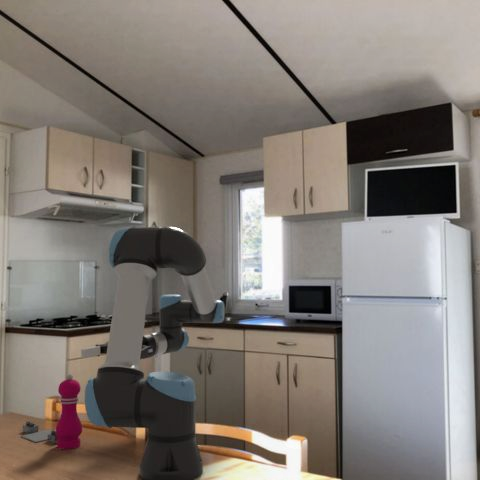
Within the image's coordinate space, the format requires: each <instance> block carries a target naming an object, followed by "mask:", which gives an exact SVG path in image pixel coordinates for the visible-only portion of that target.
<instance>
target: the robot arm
mask: <svg viewBox="0 0 480 480" xmlns="http://www.w3.org/2000/svg"><path fill="white" fill-rule="evenodd" d="M108 253H109V255H108V261H109V264H110V266H111V267H112V268H113V272H114V274H115V275H116V276H117V277H118V279H117V284H116V289H115V290H116V291H115V296H114V297H115V298H114V304H113V308H112V309H113V310H112V317H111V323H110V330H109V335H108V342H107V343H104V344H100V343H99V344H95V346H91V347H87V348H81V351H80V352H81V353H80V356H81V359H87V358H92V357H100V356H101V355H104V354H105V360H104V362H103V364H102V365H100V366H99V367H98V368H97V373H96V376H93V377H90V378H89V379H88V381H87V383H86V385H85V388H84V389H85V390H84V407H85V411H86V412H85V413H86V415H87V416H86V417H87V418H88V420H89V421H90V423H91V424H92V425H94V426H95V427H104V428H108V429H112V428H129V429H130V428H132V429H133V428H135V429H136V428H137V429H138V428H139V429H146V432H147V433H146V437H147V438H146V443H145V447H144V451H143V455H142V458H141V461H140V463H139V477H140V478H141V479H142V480H194V479H197V478H198V477H200V476H201V475H202V474H203V473H204V471H203V470H204V463H203V458H202V457H201V453H200V452H201V451H200V449H199V446H198V443H197V438H196V435H197V434H196V420H197V419H196V418H197V417H196V414H197V413H196V408H197V407H196V402H197V401H196V400H197V395H196V385H195V381H194V380H193V378H191V377H189V376H188V375H186V374H182V373H177V372H171V371H153V372H149V373H148V374H147V376H146V378H145V372H144V370H143V369H142V368H141V367H140V363H141V362H140V361H141V360H144V359H150V358H153V357H155V358H158V356H160V355H165V354H171V353H177V352H180V351H182V350H184V349H186V348H187V347H188V345H189V342H190V337H189V335H188V331H186V329H184V328H183V324H191V323H192V324H218V323H219V324H220V323H223V322H224V320H225V315H226V311H225V310H226V309H225V302H224V301H222V300H219V299H216V298H215V295H214V292H213V287H212V285H211V281H210V279H209V276H208V272H207V270H206V264H207V257H206V254H205V251H204V249H203V248H202V246H201V244H200V243H199V242H198V241H197V240H196V239H195V238H194V237H193V236H192V235H190V234H189V233H188V232H187V231H184V230H183V229H180V228H178V227H175V226H145V227H144V226H142V227H141V226H137V227H136V226H130V227H122V228H119V229H118V230H116V231H115V232H114V233H113V235H112V236H111V239H110V242H109V247H108ZM158 269H174V271H175V272H176V273H177V274H178V275H180V276H181V279H182V281H183V284H184V287H185V289H186V291H187V294H188V297H189V299H190V300H187V299H186V300H185V299H184V300H183V299H182V295H181V294H176V293H175V294H174V293H173V294H172V293H171V294H162V295H161V296H160V297H159V308H158V310H159V331H157V332H156V331H155V332H151V333H150V332H149V333H146V334H144V331H145V323H146V316H147V306H148V301H149V291H150V283H151V281H153V279H155V278H156V277H157V272H158Z"/></svg>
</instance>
